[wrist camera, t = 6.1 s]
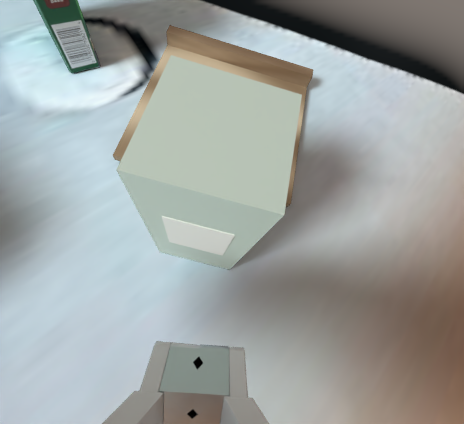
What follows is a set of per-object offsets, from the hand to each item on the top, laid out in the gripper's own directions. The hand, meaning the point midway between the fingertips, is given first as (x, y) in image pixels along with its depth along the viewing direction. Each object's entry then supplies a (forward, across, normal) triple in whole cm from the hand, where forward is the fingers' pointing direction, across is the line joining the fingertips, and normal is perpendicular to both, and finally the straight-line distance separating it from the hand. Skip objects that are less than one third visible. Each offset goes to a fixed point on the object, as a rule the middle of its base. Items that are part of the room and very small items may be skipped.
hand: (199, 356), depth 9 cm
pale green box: (+10, -1, 0) cm, 10 cm away
